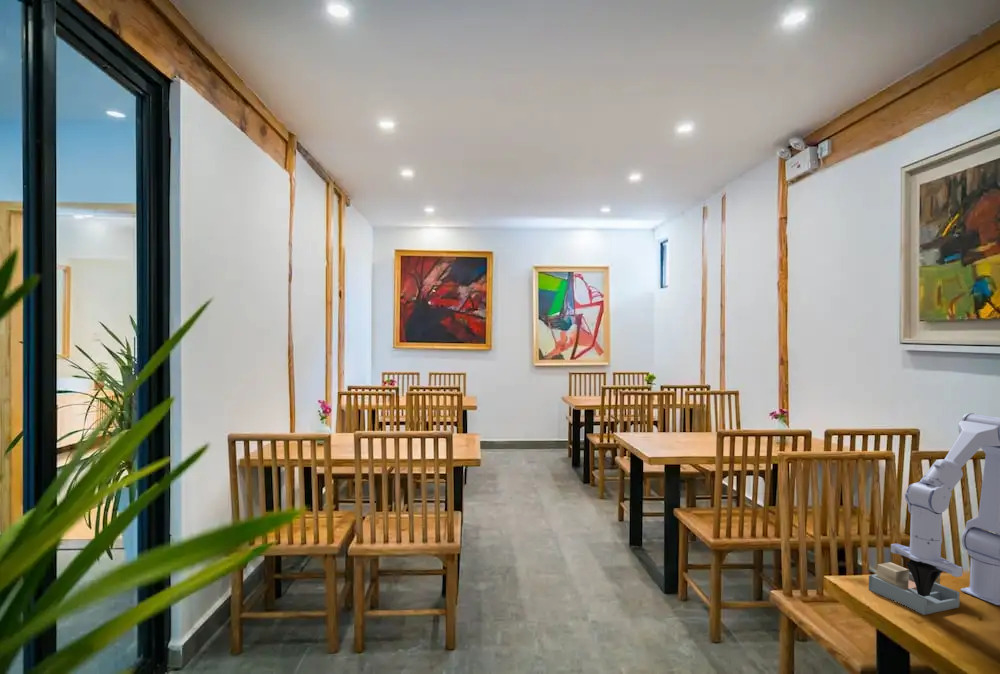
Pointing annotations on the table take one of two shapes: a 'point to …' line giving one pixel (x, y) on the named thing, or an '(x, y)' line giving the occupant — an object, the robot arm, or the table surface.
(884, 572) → the beech block
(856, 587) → the table surface
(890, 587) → the trap box
